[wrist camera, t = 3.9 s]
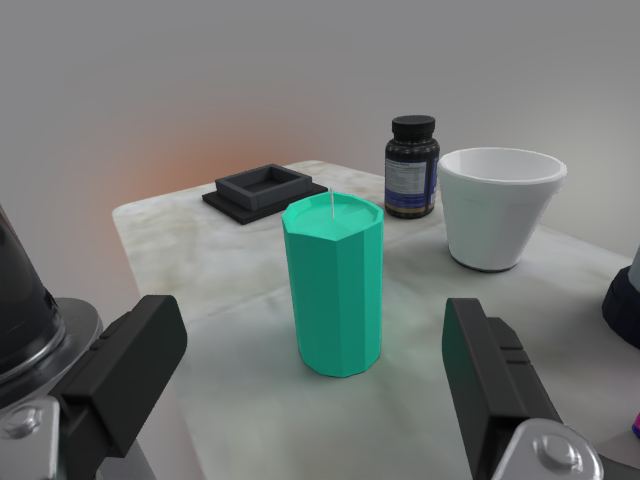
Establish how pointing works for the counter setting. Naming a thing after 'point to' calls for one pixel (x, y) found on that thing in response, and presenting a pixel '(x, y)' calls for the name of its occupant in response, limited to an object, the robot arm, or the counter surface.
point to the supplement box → (637, 425)
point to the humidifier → (625, 303)
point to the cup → (495, 202)
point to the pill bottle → (411, 167)
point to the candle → (336, 280)
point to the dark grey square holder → (261, 192)
